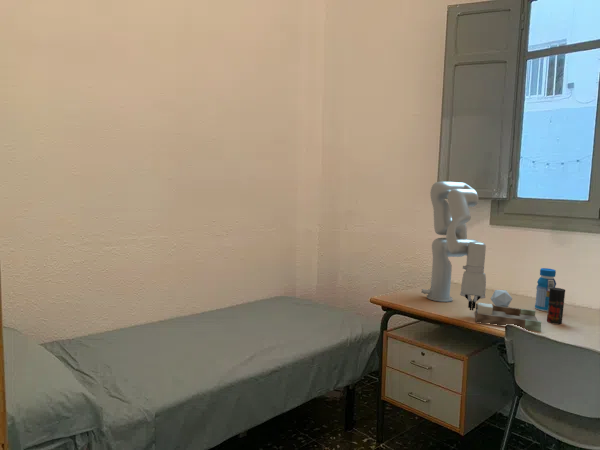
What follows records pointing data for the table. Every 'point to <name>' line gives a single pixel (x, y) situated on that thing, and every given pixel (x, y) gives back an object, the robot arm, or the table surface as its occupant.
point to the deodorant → (556, 305)
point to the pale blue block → (485, 308)
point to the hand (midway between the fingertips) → (471, 309)
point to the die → (501, 298)
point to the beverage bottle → (544, 288)
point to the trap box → (510, 317)
